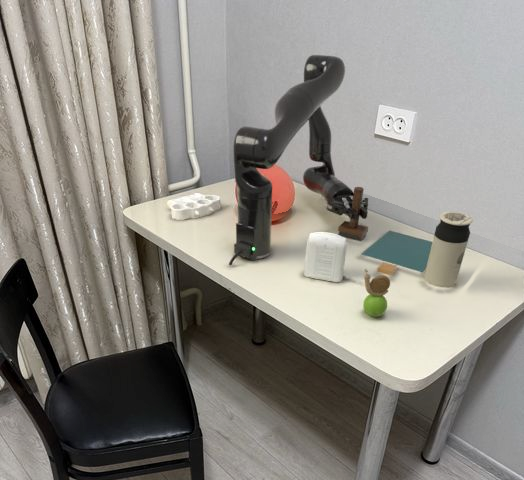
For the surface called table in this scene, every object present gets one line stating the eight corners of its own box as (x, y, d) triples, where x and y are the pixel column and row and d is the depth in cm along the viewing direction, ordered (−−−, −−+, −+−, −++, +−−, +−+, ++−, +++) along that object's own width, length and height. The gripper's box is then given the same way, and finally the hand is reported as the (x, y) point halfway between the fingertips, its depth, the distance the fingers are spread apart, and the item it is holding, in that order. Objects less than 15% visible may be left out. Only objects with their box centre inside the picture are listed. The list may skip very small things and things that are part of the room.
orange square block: (390, 279, 130) (392, 271, 129) (376, 275, 132) (377, 267, 131) (395, 273, 133) (397, 265, 132) (381, 269, 135) (382, 261, 133)
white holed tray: (204, 198, 174) (228, 211, 165) (159, 210, 165) (183, 224, 156) (203, 188, 172) (228, 201, 163) (158, 200, 163) (182, 214, 154)
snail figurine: (355, 308, 119) (362, 263, 111) (381, 307, 119) (390, 263, 112) (360, 321, 114) (368, 275, 107) (387, 320, 115) (397, 274, 108)
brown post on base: (360, 243, 146) (368, 194, 136) (337, 237, 149) (343, 188, 139) (366, 237, 149) (374, 188, 139) (343, 231, 152) (349, 183, 142)
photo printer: (343, 276, 131) (349, 232, 124) (341, 284, 128) (346, 239, 120) (306, 270, 133) (309, 227, 126) (302, 277, 130) (305, 233, 123)
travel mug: (416, 281, 129) (432, 215, 119) (435, 273, 133) (452, 208, 122) (442, 294, 125) (460, 226, 114) (461, 285, 128) (480, 218, 117)
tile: (421, 276, 132) (422, 272, 131) (360, 257, 140) (360, 253, 139) (446, 249, 145) (447, 245, 144) (388, 233, 153) (389, 230, 152)
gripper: (317, 184, 151) (339, 205, 138) (359, 180, 154) (384, 201, 141) (315, 208, 155) (336, 231, 142) (356, 204, 158) (380, 226, 145)
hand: (360, 216), depth 141 cm, fingers closed on brown post on base, 2 cm apart
